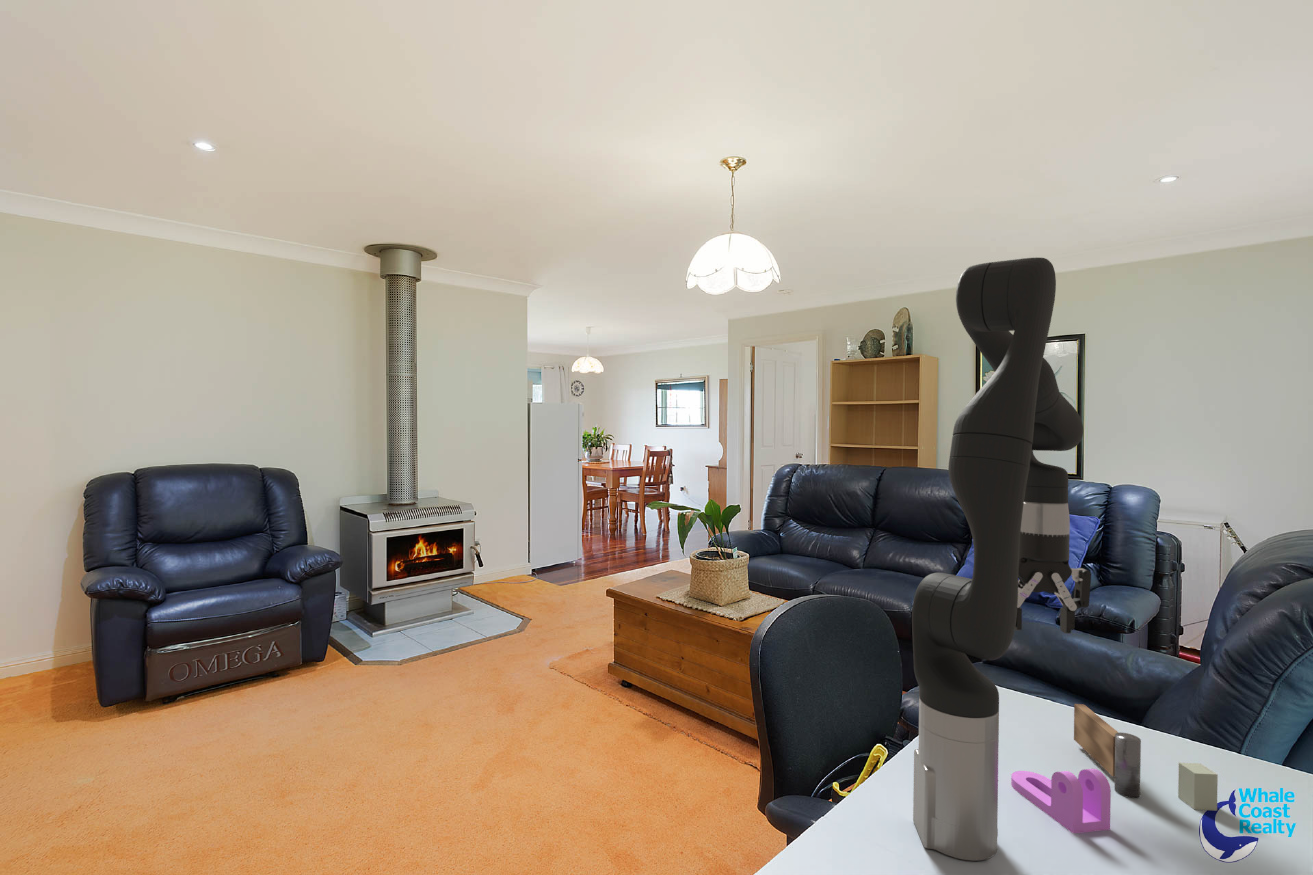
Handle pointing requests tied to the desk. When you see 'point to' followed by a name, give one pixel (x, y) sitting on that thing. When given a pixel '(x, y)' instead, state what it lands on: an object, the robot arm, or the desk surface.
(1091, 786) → the bracket
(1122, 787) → the hinge post
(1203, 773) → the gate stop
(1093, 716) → the gate
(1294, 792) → the desk surface
